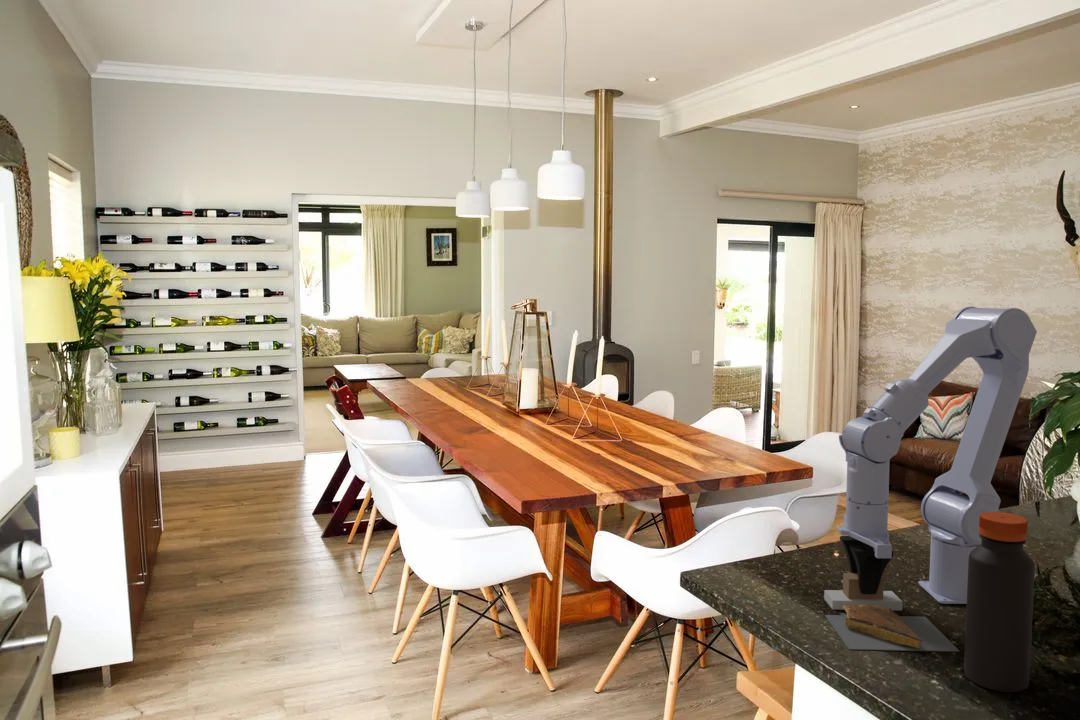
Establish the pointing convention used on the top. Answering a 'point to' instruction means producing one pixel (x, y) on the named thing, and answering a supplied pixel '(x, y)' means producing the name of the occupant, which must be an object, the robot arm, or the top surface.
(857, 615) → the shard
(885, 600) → the grout float
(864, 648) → the felt mat
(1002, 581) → the bottle
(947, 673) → the top surface
